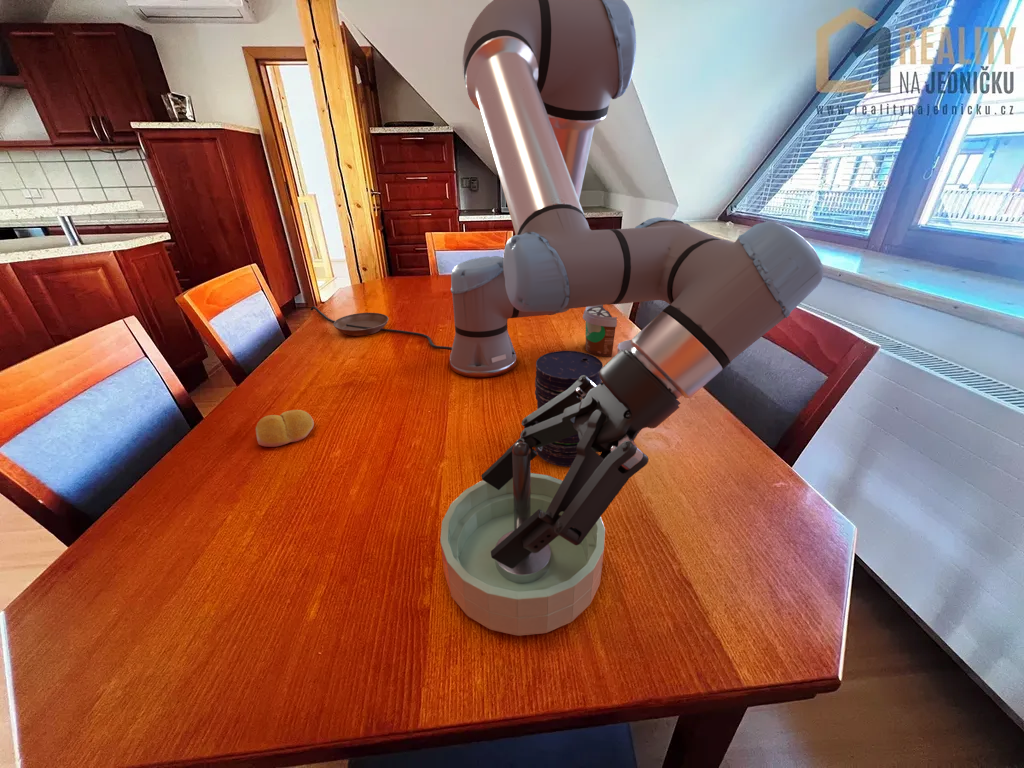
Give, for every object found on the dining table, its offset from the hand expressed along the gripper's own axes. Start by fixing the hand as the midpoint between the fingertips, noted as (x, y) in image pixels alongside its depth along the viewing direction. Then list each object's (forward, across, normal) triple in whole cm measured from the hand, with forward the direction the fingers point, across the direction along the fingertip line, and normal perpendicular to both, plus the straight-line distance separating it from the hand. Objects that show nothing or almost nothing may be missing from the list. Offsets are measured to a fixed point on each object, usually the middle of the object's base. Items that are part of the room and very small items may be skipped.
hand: (495, 517), depth 45 cm
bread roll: (+29, +33, +18) cm, 47 cm away
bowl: (+3, 0, -7) cm, 8 cm away
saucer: (+26, +85, +15) cm, 90 cm away
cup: (-17, +36, -28) cm, 48 cm away
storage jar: (-4, +21, -15) cm, 26 cm away
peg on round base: (+3, 0, -7) cm, 8 cm away
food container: (-16, +59, -27) cm, 67 cm away
